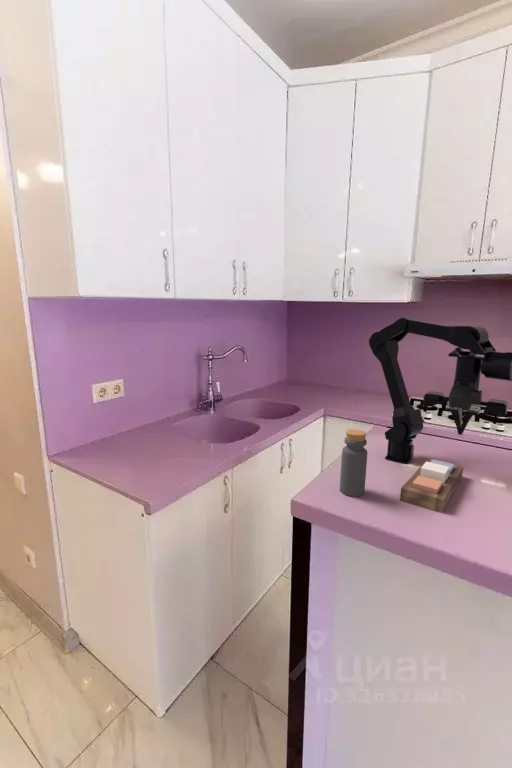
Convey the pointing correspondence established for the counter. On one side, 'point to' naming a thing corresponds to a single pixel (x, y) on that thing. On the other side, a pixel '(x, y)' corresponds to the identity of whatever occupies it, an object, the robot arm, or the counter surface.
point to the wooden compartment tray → (428, 498)
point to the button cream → (435, 471)
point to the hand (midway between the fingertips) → (460, 434)
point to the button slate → (444, 465)
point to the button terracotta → (427, 484)
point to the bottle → (353, 464)
